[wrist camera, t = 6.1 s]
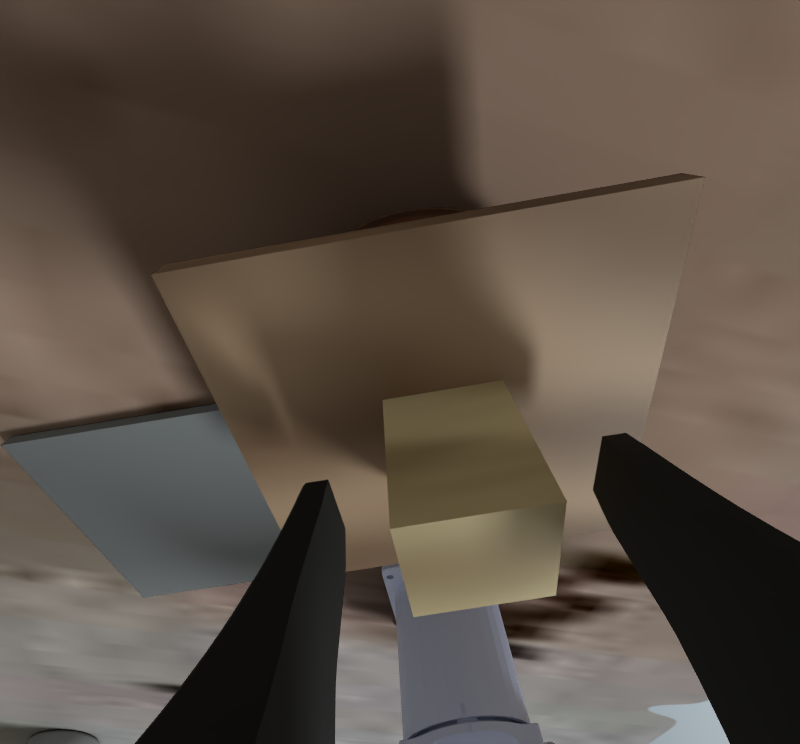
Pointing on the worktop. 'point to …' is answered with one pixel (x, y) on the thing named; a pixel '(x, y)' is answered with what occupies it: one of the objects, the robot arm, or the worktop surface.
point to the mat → (157, 497)
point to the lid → (446, 374)
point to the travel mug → (62, 738)
